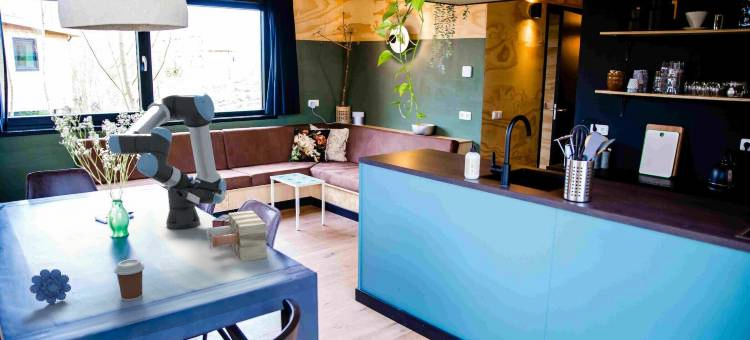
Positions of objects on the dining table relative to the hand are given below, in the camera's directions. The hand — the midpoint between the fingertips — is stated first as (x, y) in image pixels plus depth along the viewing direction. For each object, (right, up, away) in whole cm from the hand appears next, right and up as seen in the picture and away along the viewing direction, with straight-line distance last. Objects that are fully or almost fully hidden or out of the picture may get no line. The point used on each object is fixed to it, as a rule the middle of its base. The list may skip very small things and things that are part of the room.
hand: (211, 198), depth 227 cm
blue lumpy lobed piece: (-36, -32, -49) cm, 69 cm away
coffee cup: (-14, -31, -43) cm, 55 cm away
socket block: (+15, -22, 0) cm, 26 cm away
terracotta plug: (+10, -18, -9) cm, 23 cm away
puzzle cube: (+3, -19, +15) cm, 24 cm away
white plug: (+5, -16, +1) cm, 16 cm away
